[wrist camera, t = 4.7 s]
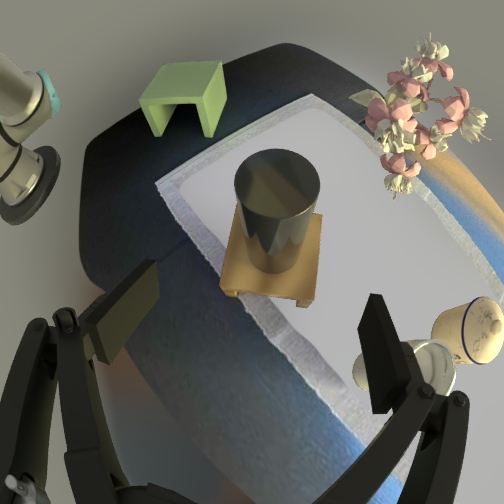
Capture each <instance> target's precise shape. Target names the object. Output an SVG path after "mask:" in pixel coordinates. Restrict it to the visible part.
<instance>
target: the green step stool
mask: <svg viewBox="0 0 504 504" xmlns="http://www.w3.org/2000/svg"><path fill="white" fill-rule="evenodd" d="M226 100H227V95H226V88H225V82H224V75H223V69H222V62H221V61H196V62H181V63H171V64H163V66H162V67H161V68H160V70H159V71H158V72H157V74H156V75H155V76H154V78H153V79H152V81H151V82H150V84H149V85H148V86H147V88H146V89H145V91H144V92H143V94H142V95H141V97H140V98H139V100H138V101H139V103H140V105H141V108H142V110H143V112H144V114H145V116H146V119H147V121H148V123H149V125H150V127H151V129H152V132H153V134H154V136H155V137H157V136H162V134H163V132H164V130H165V128H166V126H167V124H168V122H169V120H170V118H171V116H172V114H173V112H174V110H175V108H176V106H177V104H187V103H196V106H197V110H198V113H199V117H200V121H201V125H202V128H203V132H204V136H205V137H213V134H214V131H215V129H216V126H217V123H218V121H219V118H220V115H221V113H222V110H223V107H224V105H225V102H226Z"/></svg>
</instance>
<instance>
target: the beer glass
mask: <svg viewBox="0 0 504 504" xmlns="http://www.w3.org/2000/svg"><path fill="white" fill-rule="evenodd" d="M404 342H408V343H409V344H410V346H411V347H412V348H413V350H414V353H415V355H416V356H415V357H416V358H417V361H418V363H419V366H420V369H421V372H422V375H423V378H424V380H425V382H426V383H428V384H430V385H431V386H433V388H434V389H435V391H436V393H437V394H440V395H444V396H447V395H448V393H449V392H450V390H451V388H452V385H453V383H454V379H455V375H456V362H455V357H454V354H453V352H452V350H451V349H450V347H449V346H448V345H447V344H446V343H444V342H442V341H440V340H436V339H430V340H409V341H404ZM352 373H353V379H354V381H355V383H356V384H357V385H358V387H360V388H361V389H363V390H366V391H369V386H368V380H367V375H366V369H365V364H364V359H363V354H362V353H361V354H360V355H359V356H358V357H357V359H356V361H355V363H354V365H353V371H352Z"/></svg>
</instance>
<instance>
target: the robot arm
mask: <svg viewBox="0 0 504 504" xmlns="http://www.w3.org/2000/svg"><path fill="white" fill-rule="evenodd" d="M60 108H61V101H60V99H59V97H58V96H57V93H56V91H55V89H54V87H53V85H52V83H51V80H50V78H49V76H48V74H47V72H46V70H45V69H42V70H41V71H38V72H37V73H34V72H29V71H26V72H22V71H21V70H20V69H19V68H18V67H17V66H15V65H14V64H13V63H12V62H11V61H10V60H9V59H8V58H7V57H6V56H5V55H4V54H2V52H0V194H1V196H2V198H3V199H4V201H5V203H6V204H8V205H9V206H10V207H12V208H15V207H18V206H20V205H22V204H23V203H24V202H26V201H27V200H28V199H29V198H30V197H31V195H32V194H33V193H34V191H35V190H36V189H37V187H38V185H39V184H40V182H41V180H42V177H43V175H44V171H45V160H44V159H43V158H42V157H41V156H40V154H37V153H35V152H33V151H30V150H28V149H26V148H24V147H23V146H22V145H21V143H22V142H23V141H24V140H25V139H26V138H27V137H28V136H30V135H31V134H32V133H33V132H34V131H35V130H36V129H38V128H39V127H40V126H41V125H42V124H44V123H45V122H46V121H47V120H48V119H50V118H52V117H53V115H54V114H55V113H57V112H58V111H59V110H60ZM159 297H160V294H159V285H158V273H157V261H156V260H151V259H145V260H144V261H143V262H142V263H141V264H140V265H139V266H138V267H137V268H135V269H134V270H133V271H132V272H131V273H130V274H129V275H128V276H127V277H126V278H125V279H124V280H123V281H122V282H121V283H120V284H119V285H118V286H117V287H116V288H115V289H114V290H113V291H112V292H111V293H110V294H108V293H105V294H103V295H101V296H99V297H98V298H97V299H96V300H95V301H94V302H93V303H92V304H91V305H90V306H89V307H88V308H87V309H86V310H85V311H84V312H83V313H82V314H81V315H80V316H79V317H78V318H77V316H76V313H75V310H74V309H73V308H69V307H65V308H61V309H59V310H57V311H56V312H55V313H54V314H53V317H52V318H53V321H54V323H55V326H56V327H53V326H48V323H47V321H46V319H44V318H35V319H33V320H32V321H31V322H29V324H28V325H27V328H26V330H25V332H24V335H23V337H22V340H21V342H20V344H19V347H18V349H17V352H16V355H15V357H14V360H13V363H12V366H11V369H10V372H9V375H8V378H7V381H6V384H5V387H4V391H3V394H2V398H1V401H0V504H51V502H50V500H49V498H48V496H47V494H46V492H45V490H44V489H45V485H46V479H47V464H48V447H49V436H50V427H51V419H52V412H53V405H54V399H55V393H56V388H57V382H58V383H59V395H60V405H61V412H62V420H63V427H64V433H65V439H66V444H67V452H66V453H65V454H64V460H65V465H66V469H67V473H68V477H69V481H70V485H71V488H72V492H73V495H74V498H75V501H76V504H197V503H195V502H193V501H191V500H189V499H187V498H186V497H184V496H182V495H180V494H178V493H176V492H174V491H172V490H169V489H166V488H163V487H160V486H157V485H154V484H152V483H148V485H147V486H130V484H129V482H128V480H127V478H126V477H125V475H124V473H123V471H122V469H121V466H120V464H119V461H118V458H117V455H116V452H115V449H114V446H113V443H112V440H111V437H110V433H109V429H108V426H107V423H106V419H105V415H104V411H103V407H102V403H101V398H100V394H99V390H98V385H97V380H96V374H95V369H94V364H93V360H92V357H93V355H94V354H96V356H97V359H98V361H100V362H103V363H106V364H108V365H110V364H111V363H112V361H113V360H114V358H115V357H116V356H117V354H118V353H119V351H120V350H121V348H122V347H123V346H124V344H125V343H126V342H127V340H128V339H129V337H130V336H131V335H132V333H133V332H134V331H135V329H136V328H137V327H138V325H139V324H140V322H141V321H142V320H143V318H144V317H145V316H146V314H147V313H148V312H149V310H150V309H151V308H152V306H153V305H154V304H155V302H156V301H157V300H158V299H159ZM357 330H358V334H359V339H360V343H361V349H362V354H363V359H364V364H365V369H366V375H367V380H368V386H369V392H370V399H371V405H372V412H373V414H387V413H388V411H389V410H390V409H391V408H392V410H393V414H392V416H391V417H390V418H389V419H388V421H387V422H386V423H385V424H384V426H383V428H382V429H381V430H380V432H379V433H378V434H377V435H376V437H375V438H374V439H373V440H372V442H371V443H370V444H369V445H368V447H367V448H366V449H365V450H364V451H363V452H362V454H361V455H360V456H359V457H358V458H357V459H356V460H355V462H354V463H353V464H352V465H351V466H350V467H349V468H348V469H347V470H346V471H345V472H344V473H343V474H342V475H341V477H340V478H339V479H338V480H337V481H336V482H335V483H334V484H333V485H332V486H331V487H329V488H328V489H327V490H326V491H325V492H324V493H323V494H322V495H321V496H320V497H319V498H318V499H317V500H316V501H314V502H313V503H312V504H367V502H368V501H369V500H370V499H371V498H372V496H373V495H374V494H375V493H376V492H377V490H378V489H379V488H380V487H381V485H382V484H383V483H384V481H385V480H386V479H387V477H388V476H389V475H390V473H391V472H392V471H393V469H394V468H395V466H396V465H397V464H398V462H399V461H400V459H401V458H402V456H403V455H404V453H405V452H406V450H407V448H408V447H409V445H410V444H411V442H412V441H413V439H414V437H415V436H416V434H417V432H418V431H422V432H421V436H420V440H419V443H418V447H417V450H416V453H415V456H414V460H413V463H412V466H411V468H410V471H409V474H408V477H407V480H406V482H405V485H404V487H403V490H402V492H401V495H400V497H399V500H398V502H397V504H453V502H454V498H455V494H456V491H457V487H458V482H459V478H460V474H461V469H462V464H463V458H464V452H465V446H466V439H467V431H468V420H469V408H470V403H469V399H468V397H467V395H466V394H465V393H463V392H461V391H453V392H452V393H451V394H450V395H449V396H444V395H440V394H437V393H436V391H435V389H434V388H433V386H431V385H430V384H428V383H426V382H425V380H424V378H423V375H422V372H421V369H420V366H419V363H418V361H417V358H416V357H415V356H416V355H415V353H414V350H413V348H412V347H411V346H410V344H409V343H408V342H400V340H399V338H398V335H397V332H396V330H395V327H394V324H393V322H392V319H391V317H390V314H389V312H388V309H387V306H386V304H385V302H384V299H383V297H382V295H380V294H372V293H371V294H370V296H369V299H368V302H367V304H366V307H365V310H364V313H363V316H362V318H361V321H360V323H359V326H358V328H357Z"/></svg>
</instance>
